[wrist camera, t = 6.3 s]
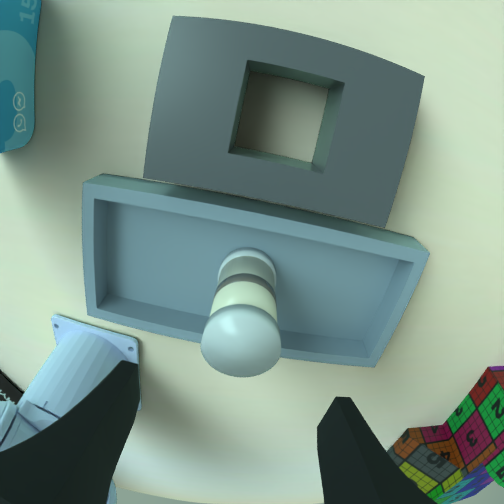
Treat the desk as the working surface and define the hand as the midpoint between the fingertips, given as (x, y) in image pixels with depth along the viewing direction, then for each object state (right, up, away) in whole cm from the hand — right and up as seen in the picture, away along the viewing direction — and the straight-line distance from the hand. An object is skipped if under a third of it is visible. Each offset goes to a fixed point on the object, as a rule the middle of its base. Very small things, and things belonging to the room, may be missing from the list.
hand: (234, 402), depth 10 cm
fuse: (0, +4, +9) cm, 10 cm away
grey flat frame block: (+2, +13, +6) cm, 14 cm away
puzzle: (+26, -18, +19) cm, 37 cm away
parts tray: (0, +4, +9) cm, 10 cm away
